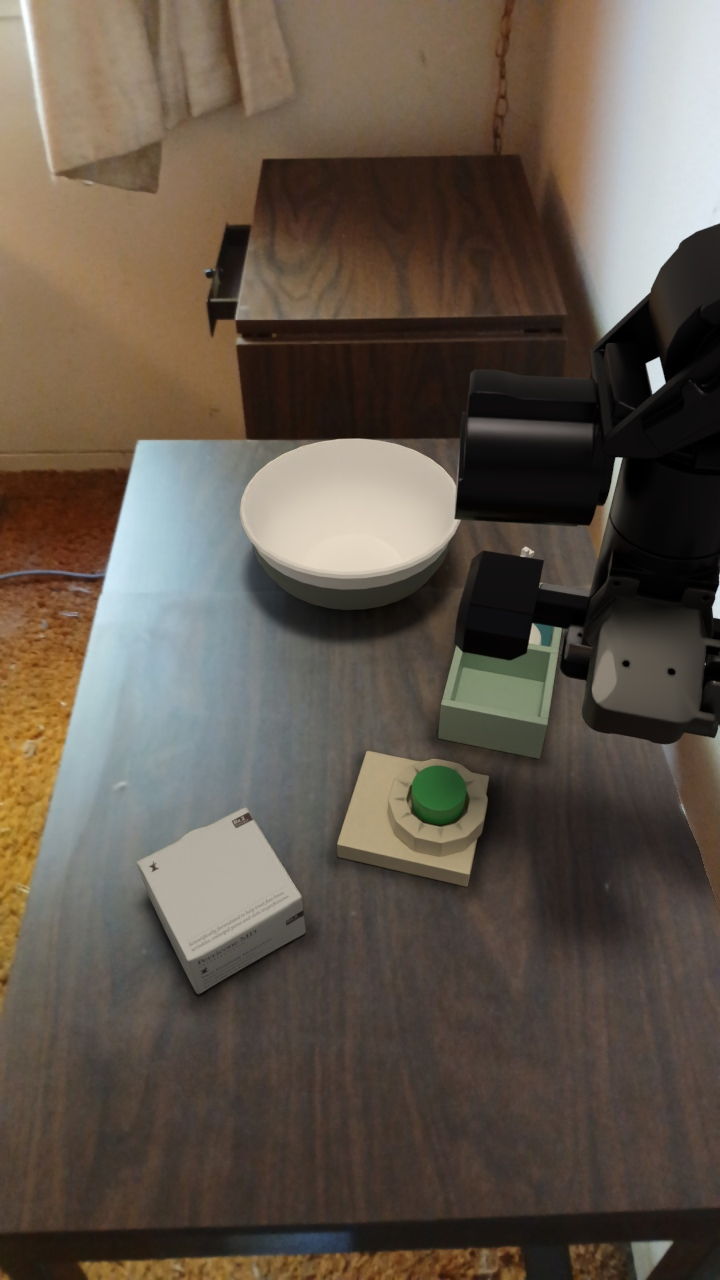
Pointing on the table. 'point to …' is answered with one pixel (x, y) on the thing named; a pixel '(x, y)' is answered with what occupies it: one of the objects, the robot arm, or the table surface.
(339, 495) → the bowl
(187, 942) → the small box
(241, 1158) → the table surface
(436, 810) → the button
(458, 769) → the beige button base
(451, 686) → the green divided tray
